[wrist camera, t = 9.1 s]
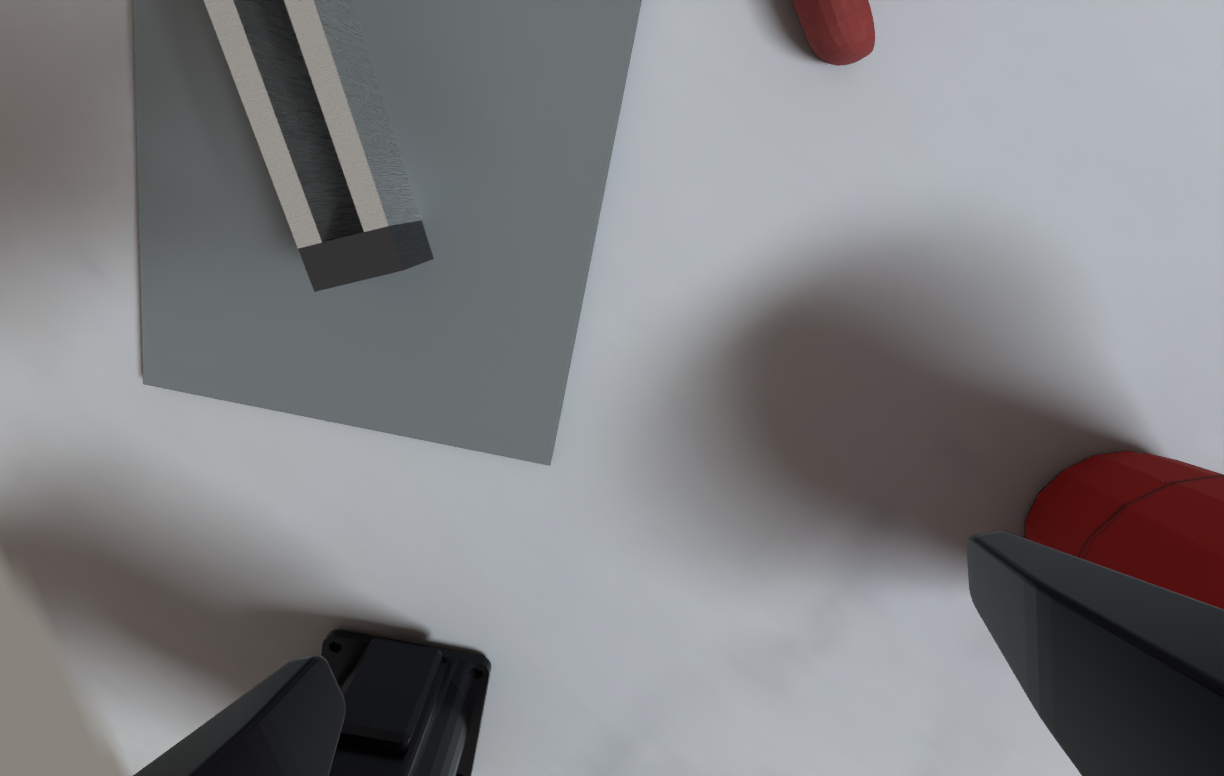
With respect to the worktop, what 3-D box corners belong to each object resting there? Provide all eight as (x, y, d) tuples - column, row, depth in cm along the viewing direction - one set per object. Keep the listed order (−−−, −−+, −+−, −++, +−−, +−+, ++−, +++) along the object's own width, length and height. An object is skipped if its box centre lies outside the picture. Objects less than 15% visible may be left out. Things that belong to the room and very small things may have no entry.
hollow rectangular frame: (403, 270, 17) (242, -213, 14) (314, 291, 17) (136, -178, 14) (434, 258, 20) (305, -148, 16) (356, 277, 20) (214, -120, 17)
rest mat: (551, 460, 22) (549, 465, 22) (151, 380, 22) (143, 383, 21) (670, -147, 17) (671, -154, 16) (136, -276, 16) (124, -287, 16)
